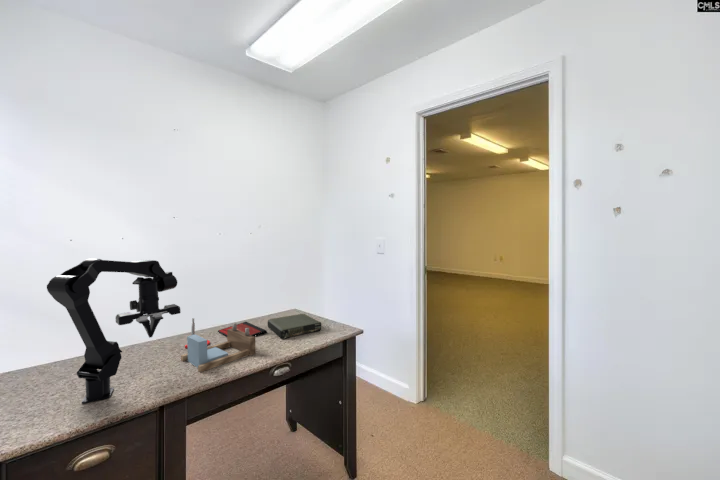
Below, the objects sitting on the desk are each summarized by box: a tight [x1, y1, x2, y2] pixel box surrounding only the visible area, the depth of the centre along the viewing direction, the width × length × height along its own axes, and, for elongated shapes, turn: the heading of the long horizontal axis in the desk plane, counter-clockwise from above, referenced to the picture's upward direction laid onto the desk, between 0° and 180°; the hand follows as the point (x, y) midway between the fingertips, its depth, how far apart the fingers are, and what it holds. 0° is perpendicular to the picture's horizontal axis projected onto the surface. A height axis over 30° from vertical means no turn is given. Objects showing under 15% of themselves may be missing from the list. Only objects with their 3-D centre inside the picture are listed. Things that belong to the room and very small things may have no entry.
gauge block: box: [186, 333, 229, 369], centre depth 119 cm, size 11×10×10 cm
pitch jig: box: [180, 322, 256, 373], centre depth 123 cm, size 22×18×10 cm
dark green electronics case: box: [267, 313, 322, 340], centre depth 156 cm, size 23×23×5 cm
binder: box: [217, 321, 268, 338], centre depth 151 cm, size 16×2×21 cm
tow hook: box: [184, 317, 211, 349], centre depth 135 cm, size 8×13×9 cm
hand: (150, 337), depth 111 cm, fingers closed
